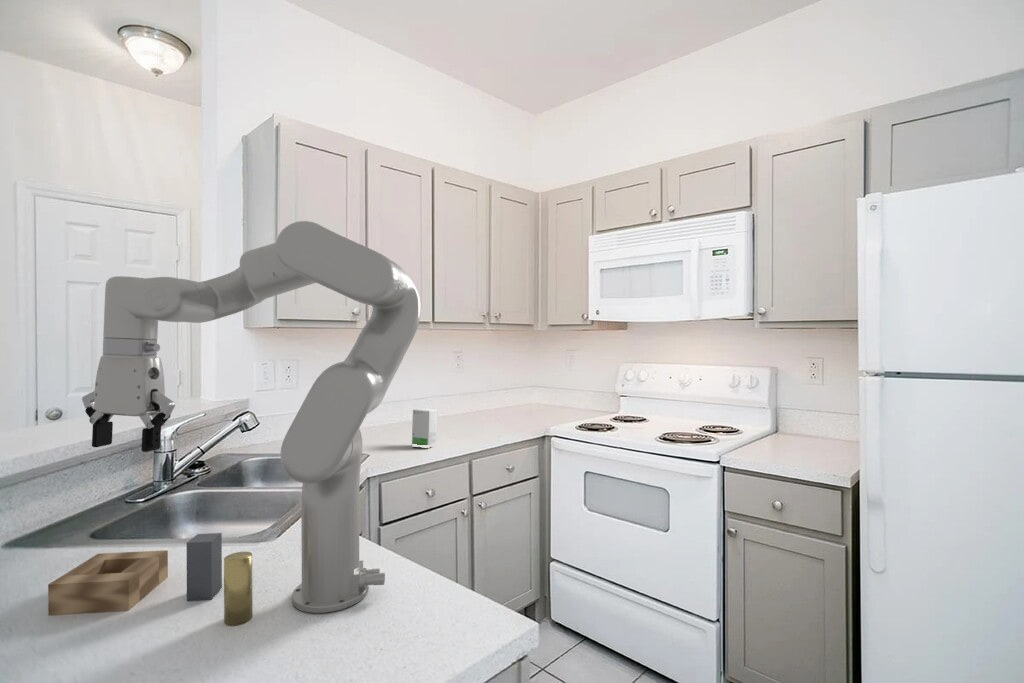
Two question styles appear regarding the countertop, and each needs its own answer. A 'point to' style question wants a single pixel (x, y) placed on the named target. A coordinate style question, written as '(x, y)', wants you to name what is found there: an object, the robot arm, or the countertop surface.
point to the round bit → (238, 588)
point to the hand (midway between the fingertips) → (126, 448)
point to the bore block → (108, 582)
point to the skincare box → (424, 426)
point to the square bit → (204, 566)
